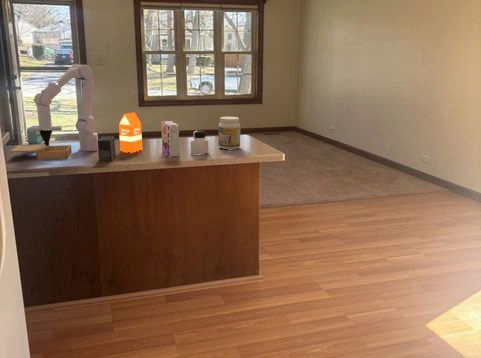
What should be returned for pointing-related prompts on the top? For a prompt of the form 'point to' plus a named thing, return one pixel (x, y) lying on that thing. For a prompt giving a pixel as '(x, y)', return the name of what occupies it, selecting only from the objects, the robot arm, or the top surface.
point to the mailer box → (55, 152)
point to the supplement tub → (229, 133)
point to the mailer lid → (30, 148)
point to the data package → (34, 137)
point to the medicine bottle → (199, 143)
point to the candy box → (170, 138)
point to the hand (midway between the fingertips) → (47, 145)
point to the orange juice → (130, 133)
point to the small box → (106, 149)
